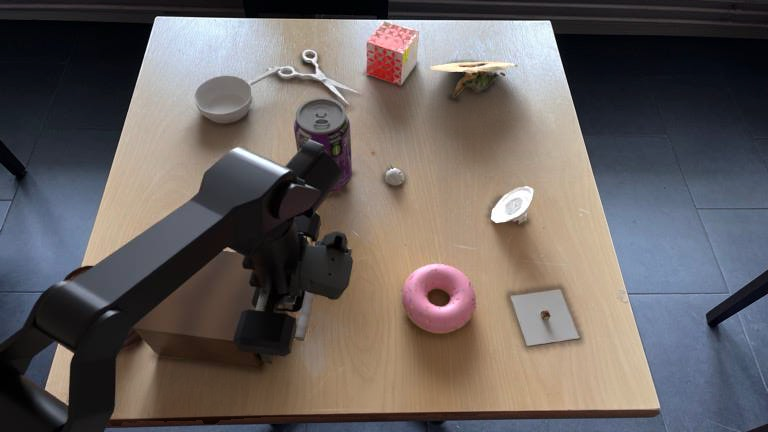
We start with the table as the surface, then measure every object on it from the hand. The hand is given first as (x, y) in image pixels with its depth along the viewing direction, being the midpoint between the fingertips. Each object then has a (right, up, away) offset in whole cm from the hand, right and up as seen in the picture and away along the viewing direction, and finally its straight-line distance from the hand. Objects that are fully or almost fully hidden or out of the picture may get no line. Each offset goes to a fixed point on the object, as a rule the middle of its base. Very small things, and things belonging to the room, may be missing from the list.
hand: (289, 306), depth 69 cm
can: (-24, -5, +6) cm, 26 cm away
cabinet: (-11, -3, +7) cm, 14 cm away
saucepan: (-15, +35, +34) cm, 51 cm away
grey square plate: (+36, -3, +9) cm, 38 cm away
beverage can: (+2, +19, +23) cm, 30 cm away
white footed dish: (+34, +12, +19) cm, 41 cm away
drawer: (-7, -3, +6) cm, 10 cm away
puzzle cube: (+14, +43, +41) cm, 61 cm away
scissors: (0, +40, +38) cm, 55 cm away
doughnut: (+21, -1, +10) cm, 23 cm away
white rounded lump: (+14, +18, +23) cm, 33 cm away
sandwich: (+30, +40, +39) cm, 63 cm away
